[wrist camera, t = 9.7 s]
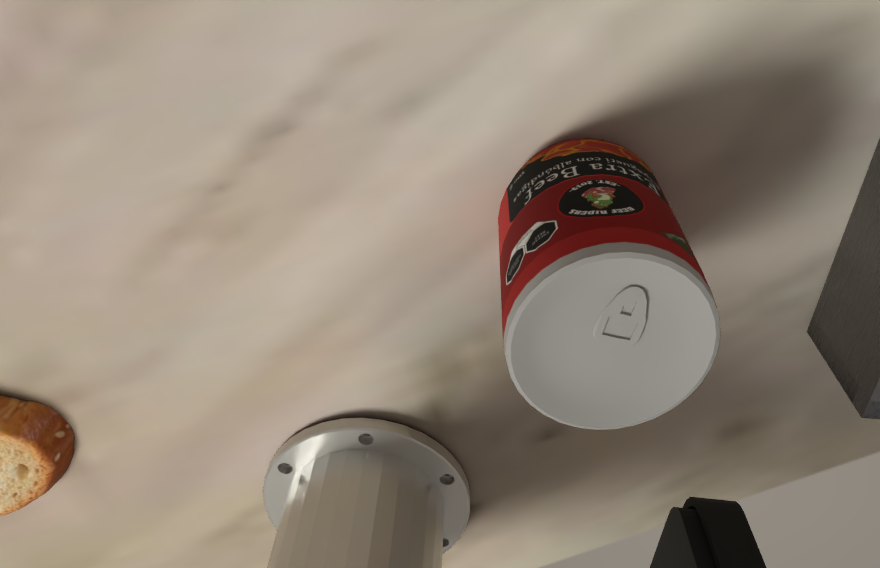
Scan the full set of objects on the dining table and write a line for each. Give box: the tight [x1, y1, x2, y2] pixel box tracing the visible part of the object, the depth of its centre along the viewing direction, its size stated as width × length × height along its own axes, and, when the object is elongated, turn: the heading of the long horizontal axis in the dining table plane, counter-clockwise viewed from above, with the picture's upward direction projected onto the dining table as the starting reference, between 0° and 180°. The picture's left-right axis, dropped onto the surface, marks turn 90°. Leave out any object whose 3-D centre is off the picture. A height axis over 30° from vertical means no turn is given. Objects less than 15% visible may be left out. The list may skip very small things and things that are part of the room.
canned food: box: [498, 138, 720, 430], centre depth 32 cm, size 8×8×11 cm
